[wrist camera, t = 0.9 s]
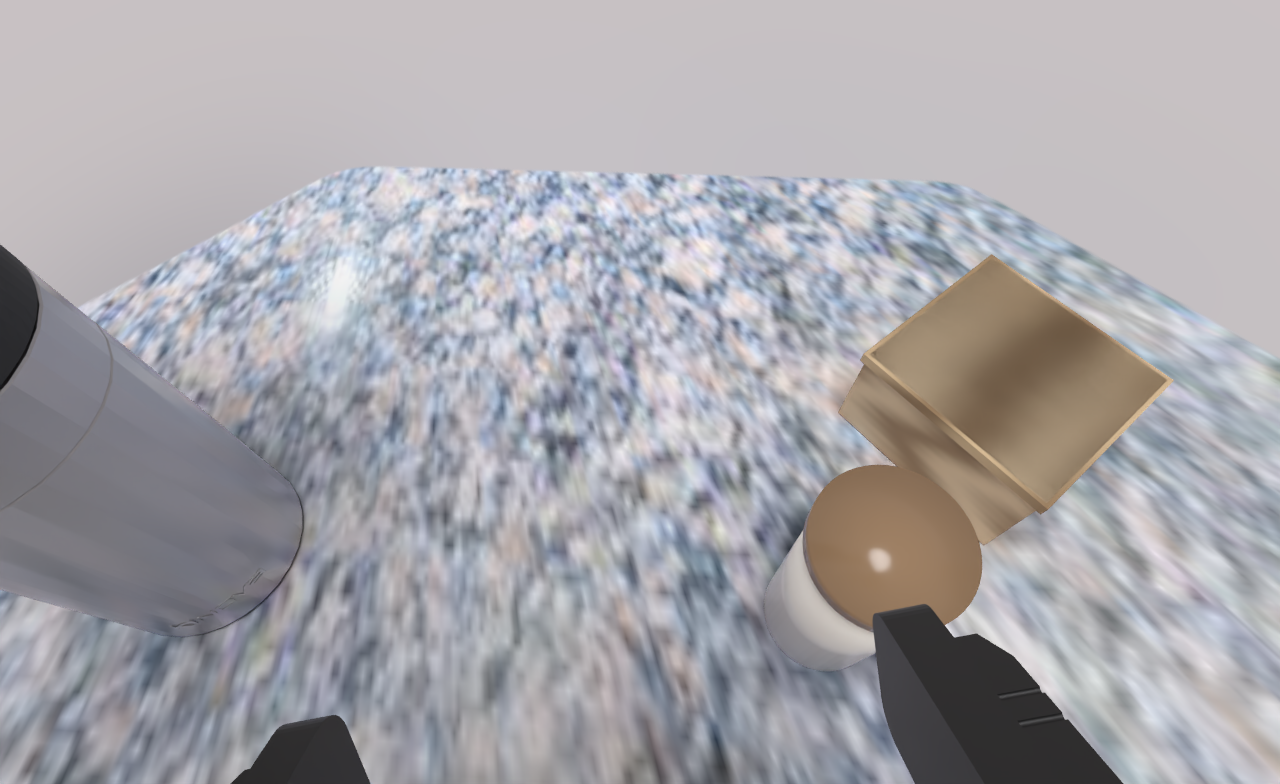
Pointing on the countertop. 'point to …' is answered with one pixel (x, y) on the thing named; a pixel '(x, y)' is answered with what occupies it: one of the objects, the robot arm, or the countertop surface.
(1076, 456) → the oak box
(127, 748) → the countertop surface
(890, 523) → the cream jar
